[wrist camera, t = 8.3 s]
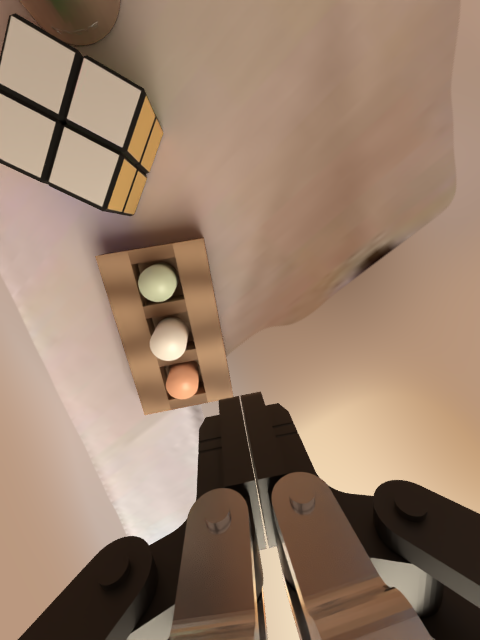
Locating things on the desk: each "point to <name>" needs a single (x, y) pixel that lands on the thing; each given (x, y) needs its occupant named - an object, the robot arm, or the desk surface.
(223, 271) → the desk surface
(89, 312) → the desk surface
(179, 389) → the terracotta egg
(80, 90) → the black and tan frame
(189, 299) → the wooden egg rack
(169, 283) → the pale green piece
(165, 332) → the cream white egg
